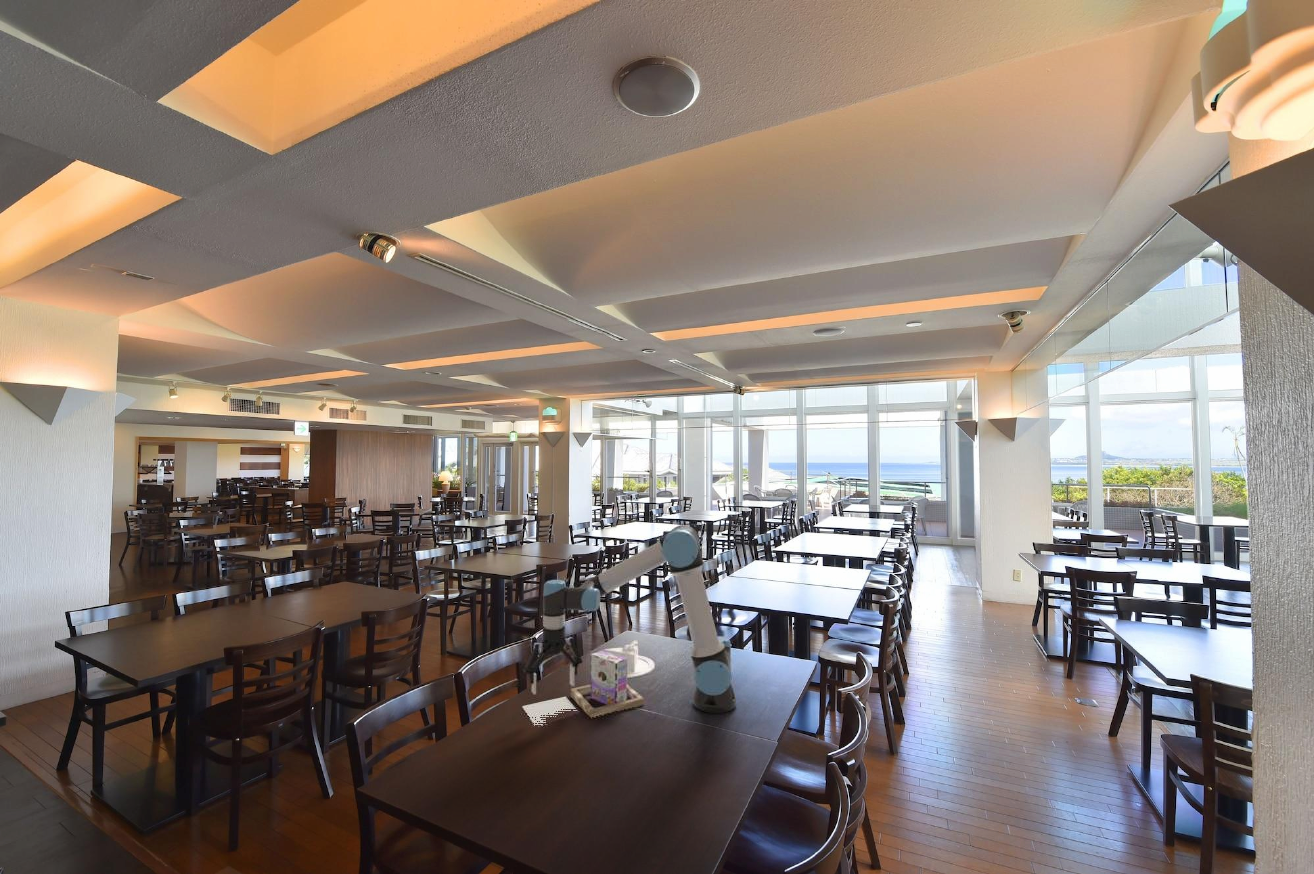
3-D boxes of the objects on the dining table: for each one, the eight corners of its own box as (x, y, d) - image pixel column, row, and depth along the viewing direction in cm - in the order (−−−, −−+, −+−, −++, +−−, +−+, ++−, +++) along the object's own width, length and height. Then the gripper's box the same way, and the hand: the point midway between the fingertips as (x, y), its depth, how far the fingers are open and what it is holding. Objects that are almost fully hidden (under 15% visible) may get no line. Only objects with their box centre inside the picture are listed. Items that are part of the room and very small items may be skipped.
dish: (657, 658, 236) (657, 632, 237) (651, 681, 211) (651, 652, 212) (602, 655, 239) (602, 630, 239) (590, 678, 214) (590, 650, 214)
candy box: (627, 705, 190) (627, 658, 191) (615, 710, 186) (616, 663, 187) (601, 693, 200) (602, 649, 200) (589, 698, 195) (590, 653, 196)
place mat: (585, 721, 178) (585, 719, 178) (538, 733, 170) (538, 731, 170) (565, 698, 196) (565, 696, 196) (522, 707, 188) (522, 706, 188)
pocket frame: (643, 706, 189) (643, 698, 189) (591, 720, 179) (591, 711, 179) (619, 685, 206) (619, 678, 206) (570, 696, 197) (570, 688, 197)
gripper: (583, 618, 194) (583, 677, 193) (515, 628, 182) (514, 691, 181) (591, 623, 187) (591, 685, 186) (520, 634, 175) (519, 700, 174)
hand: (553, 688), depth 183 cm, fingers open, 13 cm apart
